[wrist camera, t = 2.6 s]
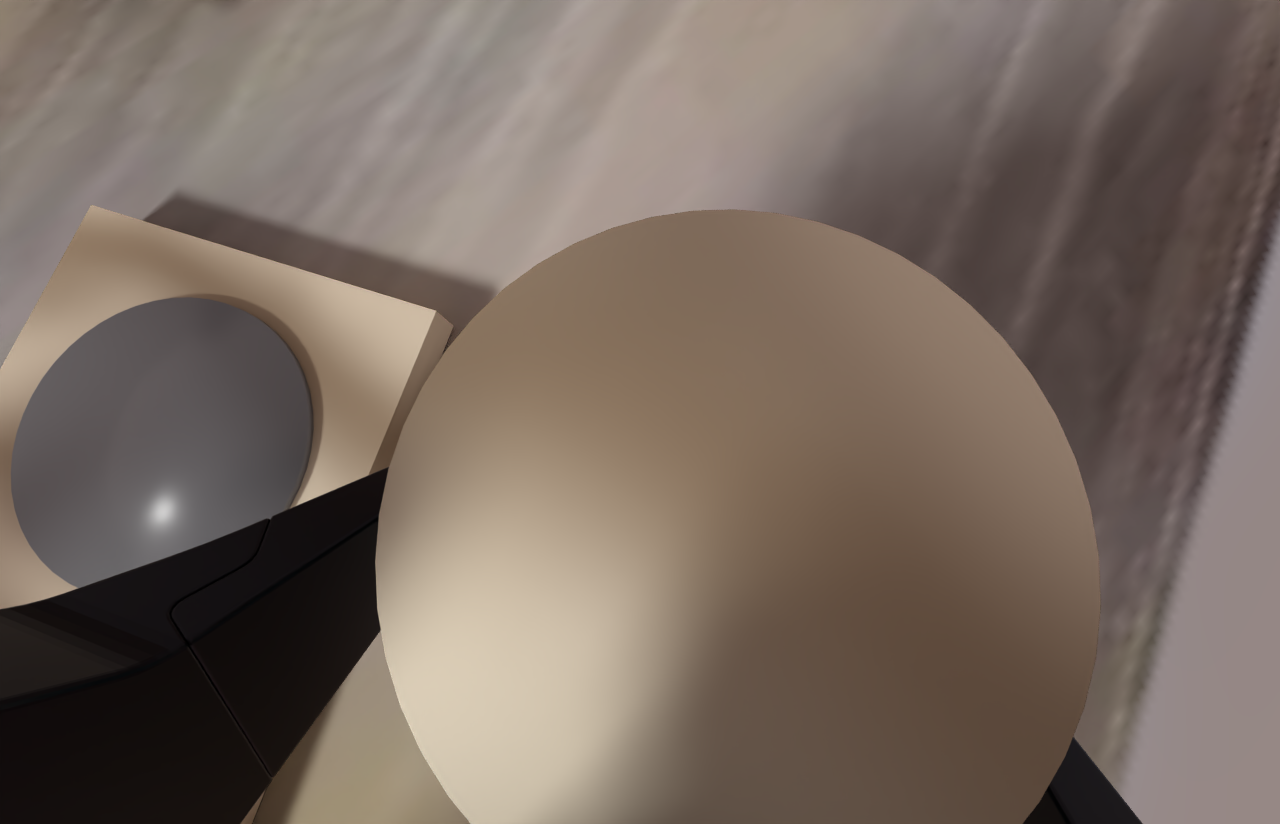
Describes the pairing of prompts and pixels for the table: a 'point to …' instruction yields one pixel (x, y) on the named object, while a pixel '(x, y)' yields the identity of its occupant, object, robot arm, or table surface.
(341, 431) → the stand board
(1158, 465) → the table surface
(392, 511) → the bobbin
